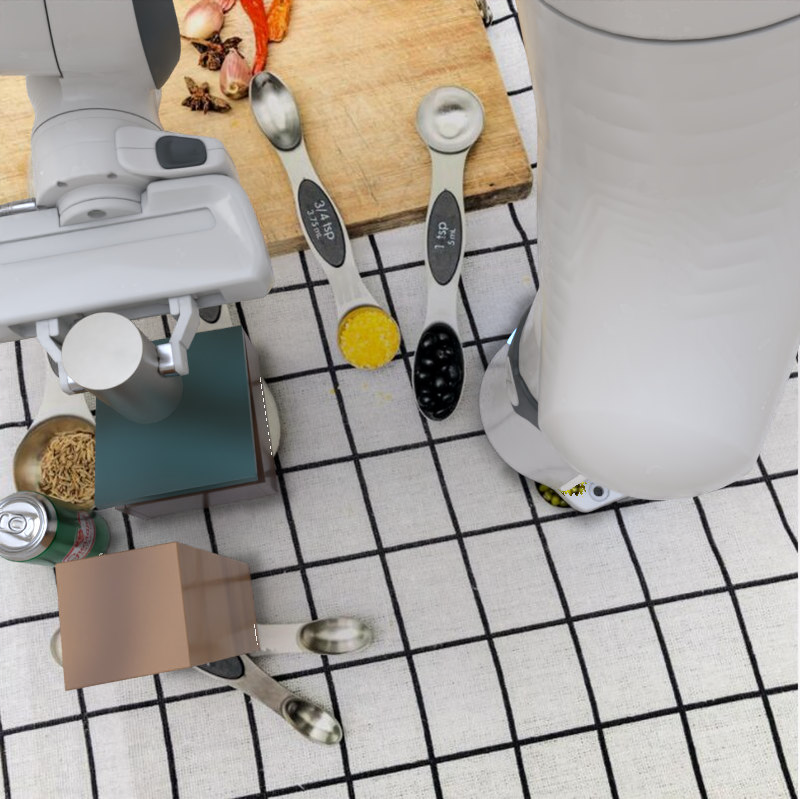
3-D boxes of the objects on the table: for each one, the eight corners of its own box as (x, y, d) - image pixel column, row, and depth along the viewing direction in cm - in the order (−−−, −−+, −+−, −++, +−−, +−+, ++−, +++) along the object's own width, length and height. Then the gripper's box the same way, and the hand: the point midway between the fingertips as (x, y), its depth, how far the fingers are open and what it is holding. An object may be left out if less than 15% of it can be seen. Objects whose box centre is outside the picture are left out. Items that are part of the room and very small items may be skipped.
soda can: (102, 575, 69) (39, 568, 57) (43, 563, 69) (-31, 553, 57) (119, 515, 70) (61, 496, 58) (62, 503, 70) (-7, 481, 59)
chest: (279, 494, 70) (265, 482, 64) (142, 519, 70) (115, 510, 63) (258, 354, 73) (243, 329, 67) (128, 378, 73) (100, 354, 66)
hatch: (258, 480, 60) (255, 476, 59) (98, 509, 60) (94, 505, 59) (243, 330, 67) (241, 324, 66) (99, 355, 66) (96, 350, 66)
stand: (248, 563, 69) (176, 541, 48) (260, 650, 67) (190, 667, 46) (165, 579, 69) (54, 563, 47) (174, 666, 67) (64, 691, 46)
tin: (178, 351, 58) (138, 305, 49) (187, 417, 57) (147, 382, 48) (110, 363, 58) (57, 319, 49) (117, 429, 57) (64, 396, 48)
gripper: (-78, 189, 52) (-68, 399, 49) (246, 135, 53) (277, 338, 50) (-27, 233, 58) (-15, 423, 55) (262, 184, 59) (291, 368, 56)
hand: (126, 382), depth 52 cm, fingers closed on tin, 5 cm apart
